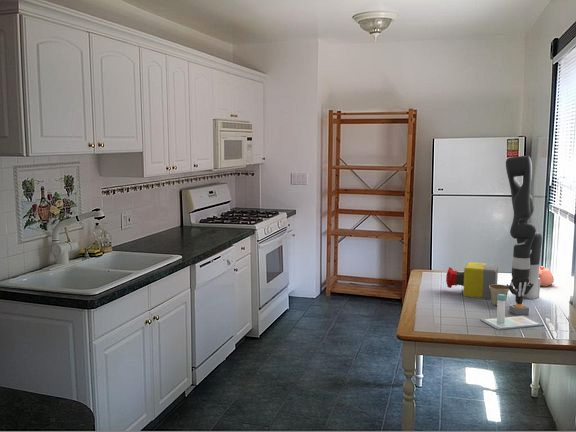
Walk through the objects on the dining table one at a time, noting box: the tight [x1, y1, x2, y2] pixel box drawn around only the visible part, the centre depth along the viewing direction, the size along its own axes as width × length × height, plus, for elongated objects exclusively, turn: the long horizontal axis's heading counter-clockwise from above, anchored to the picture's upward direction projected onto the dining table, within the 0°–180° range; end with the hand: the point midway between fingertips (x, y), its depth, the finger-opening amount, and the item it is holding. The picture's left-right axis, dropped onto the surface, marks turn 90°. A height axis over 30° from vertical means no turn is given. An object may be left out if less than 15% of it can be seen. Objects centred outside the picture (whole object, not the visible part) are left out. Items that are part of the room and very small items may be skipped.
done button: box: [514, 302, 525, 308], centre depth 251 cm, size 4×4×4 cm
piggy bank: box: [539, 265, 555, 288], centre depth 298 cm, size 12×14×10 cm
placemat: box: [480, 315, 544, 331], centre depth 238 cm, size 22×13×1 cm, turn 103°
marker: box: [496, 294, 507, 323], centre depth 236 cm, size 3×3×12 cm
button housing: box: [508, 304, 530, 316], centre depth 251 cm, size 6×6×3 cm
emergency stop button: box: [445, 261, 499, 300], centre depth 282 cm, size 15×24×15 cm, turn 65°
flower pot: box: [489, 283, 510, 306], centre depth 264 cm, size 9×9×9 cm
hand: (518, 303), depth 251 cm, fingers closed
